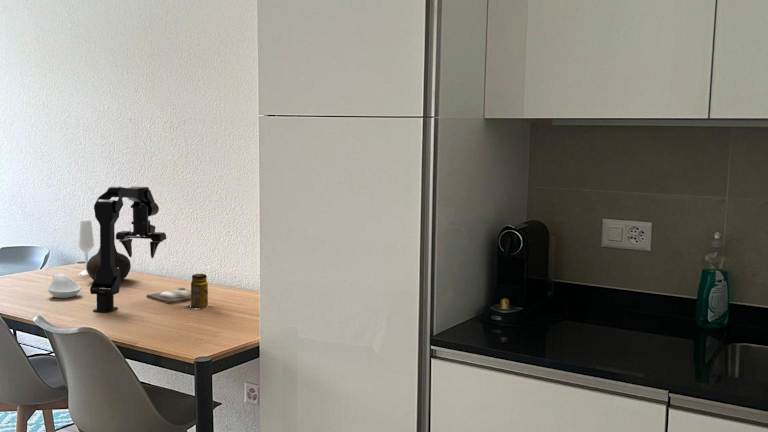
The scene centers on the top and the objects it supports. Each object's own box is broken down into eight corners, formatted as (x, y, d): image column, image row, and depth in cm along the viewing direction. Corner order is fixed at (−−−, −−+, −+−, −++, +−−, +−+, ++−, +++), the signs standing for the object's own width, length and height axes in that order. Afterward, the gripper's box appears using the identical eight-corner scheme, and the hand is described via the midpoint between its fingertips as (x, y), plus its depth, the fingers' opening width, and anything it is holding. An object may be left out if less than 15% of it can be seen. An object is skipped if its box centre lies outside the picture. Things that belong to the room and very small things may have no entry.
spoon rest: (84, 298, 291) (83, 280, 290) (51, 301, 285) (50, 283, 284) (72, 287, 311) (71, 270, 310) (41, 290, 304) (40, 272, 304)
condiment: (212, 306, 282) (212, 274, 280) (197, 310, 274) (196, 278, 273) (198, 303, 285) (197, 272, 284) (182, 308, 278) (181, 276, 276)
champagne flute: (85, 275, 334) (84, 221, 331) (75, 273, 337) (74, 220, 335) (98, 273, 340) (96, 220, 337) (88, 271, 343) (86, 219, 340)
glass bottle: (113, 287, 311) (111, 219, 308) (77, 283, 317) (75, 217, 314) (139, 279, 328) (138, 215, 325) (105, 276, 334) (103, 213, 330)
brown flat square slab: (169, 304, 283) (169, 299, 283) (146, 297, 293) (146, 292, 293) (205, 297, 295) (205, 292, 295) (181, 291, 306) (181, 286, 305)
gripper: (171, 216, 303) (172, 255, 304) (128, 215, 305) (129, 253, 307) (159, 220, 292) (160, 260, 293) (114, 218, 294) (115, 257, 296)
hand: (141, 257), depth 298 cm, fingers open, 9 cm apart
